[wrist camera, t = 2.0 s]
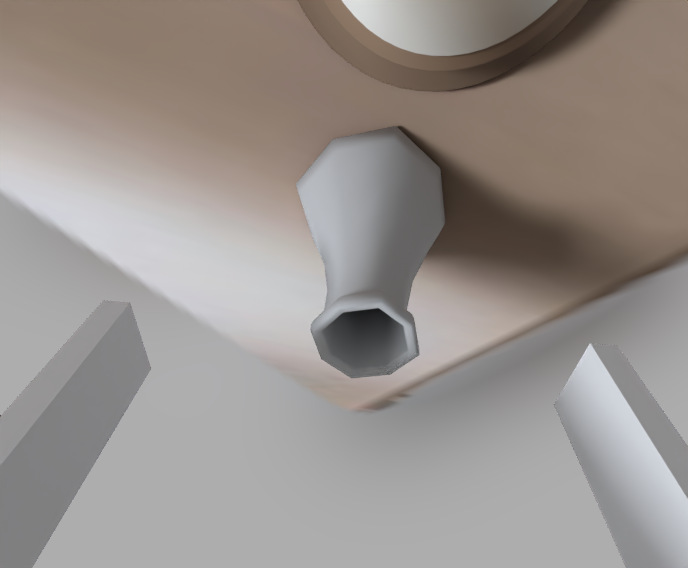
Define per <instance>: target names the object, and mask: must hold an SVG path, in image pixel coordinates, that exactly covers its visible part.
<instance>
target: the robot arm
mask: <svg viewBox="0 0 688 568" xmlns="http://www.w3.org/2000/svg"><path fill="white" fill-rule="evenodd" d="M150 370H151V367H150V364H149V361H148V357H147V354H146V351H145V348H144V345H143V342H142V339H141V335H140V332H139V329H138V326H137V323H136V320H135V317H134V314H133V311H132V307H131V304H130V303H128V302H117V301H105V300H104V301H102V303H101V304H100V305H99V306H98V307H97V308H96V310H95V311H94V312H93V313H92V314H91V315H90V316H89V317H88V318H87V319H86V321H85V322H84V323H83V324H82V325H81V326H80V327H79V328H78V330H77V331H76V332H75V333H74V334H73V335H72V336H71V338H70V339H69V340H68V341H67V342H66V343H65V344H64V345H63V347H62V348H61V349H60V350H59V351H58V352H57V353H56V354H55V355H54V357H53V358H52V359H51V360H50V361H49V362H48V363H47V365H46V366H45V367H44V368H43V369H42V370H41V372H39V373H38V375H37V376H36V377H35V378H34V379H33V380H32V381H31V383H30V384H29V385H28V386H27V387H26V388H25V389H24V390H23V392H22V393H21V394H20V395H19V396H18V397H17V398H16V400H14V402H13V403H12V404H11V405H10V406H9V407H8V408H7V410H6V411H5V412H4V413H3V414H2V415H0V568H32V567H33V565H34V564H35V562H36V560H37V559H38V557H39V555H40V554H41V552H42V550H43V549H44V547H45V545H46V543H47V542H48V540H49V539H50V537H51V535H52V534H53V532H54V530H55V529H56V527H57V525H58V523H59V522H60V520H61V519H62V517H63V515H64V513H65V512H66V510H67V509H68V507H69V505H70V503H71V502H72V500H73V498H74V497H75V495H76V493H77V492H78V490H79V488H80V486H81V485H82V483H83V482H84V480H85V478H86V476H87V475H88V473H89V472H90V470H91V468H92V467H93V465H94V463H95V462H96V460H97V458H98V457H99V455H100V453H101V452H102V450H103V448H104V446H105V445H106V443H107V441H108V440H109V438H110V437H111V435H112V433H113V431H114V430H115V428H116V427H117V425H118V423H119V421H120V420H121V418H122V416H123V415H124V413H125V411H126V410H127V408H128V406H129V404H130V403H131V401H132V400H133V398H134V396H135V395H136V393H137V391H138V390H139V388H140V386H141V385H142V383H143V381H144V380H145V378H146V376H147V375H148V373H149V371H150ZM554 406H555V408H556V411H557V413H558V415H559V417H560V420H561V422H562V424H563V426H564V429H565V431H566V433H567V435H568V438H569V440H570V442H571V444H572V447H573V449H574V451H575V453H576V456H577V458H578V460H579V463H580V465H581V467H582V469H583V472H584V474H585V476H586V478H587V481H588V483H589V485H590V487H591V490H592V492H593V494H594V496H595V499H596V501H597V503H598V505H599V508H600V510H601V512H602V514H603V517H604V519H605V521H606V523H607V526H608V528H609V530H610V533H611V534H612V537H613V539H614V541H615V544H616V546H617V548H618V550H619V553H620V555H621V557H622V560H623V562H624V564H625V566H626V568H688V446H687V444H686V443H685V441H684V440H683V439H682V437H681V436H680V434H679V433H678V432H677V430H676V429H675V427H674V426H673V424H672V423H671V422H670V420H669V419H668V417H667V416H666V414H665V413H664V411H663V410H662V409H661V407H660V406H659V404H658V403H657V401H656V400H655V399H654V397H653V396H652V394H651V393H650V391H649V390H648V389H647V387H646V386H645V384H644V383H643V381H642V380H641V379H640V377H639V376H638V375H637V373H636V371H635V370H634V369H633V367H632V366H631V364H630V363H629V362H628V360H627V359H626V357H625V356H624V354H623V353H622V351H621V350H620V349H619V347H618V346H617V345H606V344H595V343H590V344H589V346H588V348H587V349H586V351H585V353H584V354H583V356H582V358H581V359H580V361H579V363H578V365H577V366H576V368H575V370H574V371H573V373H572V375H571V377H570V378H569V380H568V382H567V383H566V385H565V387H564V388H563V390H562V392H561V393H560V395H559V397H558V399H557V400H556V402H555V404H554Z"/></svg>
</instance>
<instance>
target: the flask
mask: <svg viewBox="0 0 688 568" xmlns="http://www.w3.org/2000/svg"><path fill="white" fill-rule="evenodd" d="M296 186H297V190H298V193H299V196H300V199H301V202H302V206H303V209H304V212H305V215H306V218H307V222H308V225H309V228H310V231H311V234H312V237H313V240H314V242H315V245H316V247H317V249H318V251H319V253H320V255H321V258H322V260H323V263H324V265H325V273H326V282H327V296H326V303H325V310H324V311H323V312H322V313H321V314H320V315H319V316H318V317H317V318H316V319H315V320H314V321H313V323H312V324H311V333H312V335H313V338H314V341H315V343H316V346H317V349H318V351H319V354H320V357H321V359H322V360H324V361H325V362H327V363H328V364H330V365H331V366H333V367H335V368H336V369H338V370H339V371H341V372H343V373H344V374H346V375H347V376H349V377H351V378H359V377H369V376H380V375H390V374H392V373H393V372H395V371H396V370H398V369H399V368H401V367H402V366H403V365H405V364H406V363H408V362H409V361H411V360H412V359H414V358H415V357H417V356H418V355H419V346H418V340H417V334H416V328H415V322H414V318H413V316H412V314H411V313H410V312H408V311H407V306H408V301H409V296H410V291H411V287H412V282H413V280H414V278H415V276H416V274H417V272H418V270H419V268H420V266H421V264H422V262H423V260H424V258H425V257H426V255H427V253H428V251H429V249H430V248H431V246H432V244H433V243H434V241H435V240H436V238H437V236H438V235H439V233H440V232H441V230H442V228H443V226H444V224H445V214H444V203H443V192H442V181H441V170H440V167H438V166H437V165H436V164H435V163H434V162H433V161H432V160H431V159H430V158H429V157H428V156H427V155H426V154H425V153H424V152H423V151H422V150H421V149H420V148H419V147H418V146H416V145H415V144H414V143H413V142H412V141H411V140H410V139H409V138H408V137H407V136H406V135H405V134H404V133H403V132H402V131H401V130H400V129H399V128H398V127H397V126H392V127H388V128H383V129H379V130H374V131H369V132H365V133H360V134H355V135H351V136H346V137H341V138H337V139H333V140H332V141H331V142H330V143H329V144H328V146H327V147H326V148H325V149H324V151H323V152H322V153H321V154H320V155H319V157H318V158H317V159H316V160H315V162H314V163H313V164H312V165H311V166H310V168H309V169H308V170H307V171H306V172H305V174H304V175H303V176H302V177H301V179H300V180H299V181H298V182H297V183H296Z"/></svg>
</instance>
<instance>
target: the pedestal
mask: <svg viewBox="0 0 688 568" xmlns="http://www.w3.org/2000/svg"><path fill="white" fill-rule="evenodd" d="M587 1H588V0H298V2H299V4H300V6H301V8H302V9H303V11H304V13H305V14H306V16H307V17H308V19H309V20H310V22H311V23H312V25H313V26H314V28H315V29H316V31H317V32H318V33H319V34H320V35H321V37H322V38H323V39H324V40H325V41H326V42H327V43H328V45H329V46H330V47H331V48H332V49H333V50H334V51H335V52H336V53H338V54H339V55H340V56H341V57H342V58H343V59H344V60H345V61H347V62H348V63H349V64H351V65H352V66H354V67H355V68H357V69H358V70H360V71H361V72H363V73H364V74H366V75H368V76H370V77H372V78H374V79H377V80H379V81H381V82H383V83H386V84H390V85H393V86H396V87H399V88H404V89H410V90H417V91H445V90H453V89H460V88H464V87H468V86H471V85H475V84H479V83H482V82H484V81H486V80H489V79H491V78H494V77H496V76H499V75H501V74H503V73H504V72H506V71H508V70H510V69H512V68H514V67H515V66H517V65H519V64H521V63H522V62H523V61H525V60H526V59H528V58H529V57H531V56H532V55H533V54H535V53H536V52H538V51H539V50H540V49H542V48H543V47H544V46H545V45H546V44H547V43H548V42H550V41H551V40H552V39H553V38H554V37H555V36H557V35H558V34H559V33H560V32H561V31H562V30H563V29H564V28H565V27H566V26H567V24H568V23H569V22H570V21H571V20H572V19H573V18H574V17H575V16H576V15H577V14H578V13H579V12H580V10H581V9H582V8H583V6H584V5H585V4H586V3H587Z"/></svg>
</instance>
